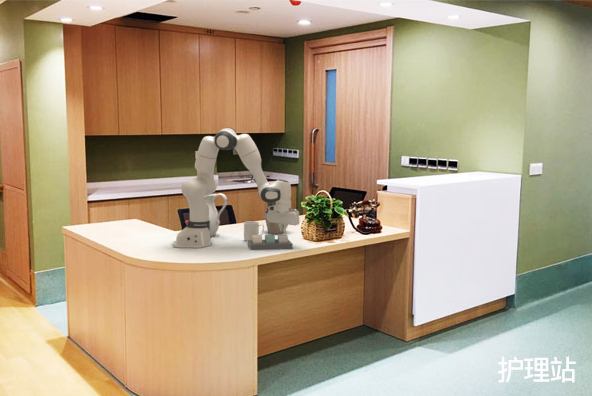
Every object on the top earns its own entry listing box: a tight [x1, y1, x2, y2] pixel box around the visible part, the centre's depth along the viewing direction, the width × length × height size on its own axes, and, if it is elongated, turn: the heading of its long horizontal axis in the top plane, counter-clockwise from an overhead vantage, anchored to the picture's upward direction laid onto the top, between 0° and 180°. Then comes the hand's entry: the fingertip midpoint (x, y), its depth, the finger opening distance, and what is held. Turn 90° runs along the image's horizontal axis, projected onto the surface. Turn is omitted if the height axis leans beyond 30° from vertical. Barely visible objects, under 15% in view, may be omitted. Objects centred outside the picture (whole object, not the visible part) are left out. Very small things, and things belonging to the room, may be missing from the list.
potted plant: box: [263, 201, 285, 235], centre depth 384 cm, size 18×20×25 cm
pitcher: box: [204, 192, 228, 238], centre depth 368 cm, size 24×17×28 cm
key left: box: [252, 234, 263, 243], centre depth 341 cm, size 5×5×4 cm
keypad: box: [247, 238, 293, 251], centre depth 344 cm, size 24×13×3 cm, turn 103°
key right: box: [277, 233, 289, 243], centre depth 345 cm, size 5×5×4 cm
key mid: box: [264, 234, 276, 243], centre depth 343 cm, size 5×5×4 cm
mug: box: [243, 220, 265, 242], centre depth 359 cm, size 12×9×11 cm
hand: (283, 231), depth 344 cm, fingers closed
